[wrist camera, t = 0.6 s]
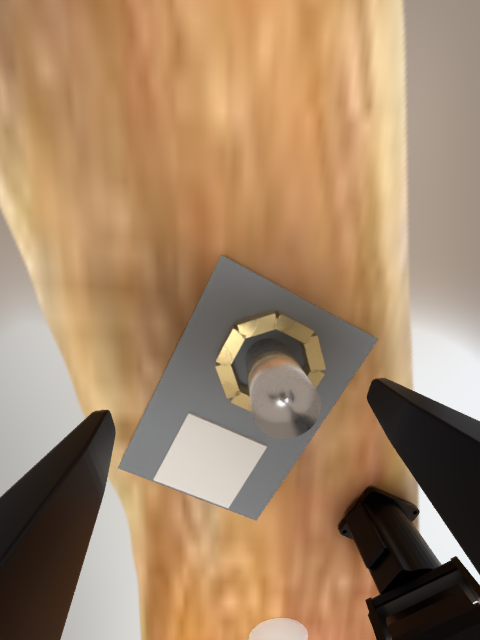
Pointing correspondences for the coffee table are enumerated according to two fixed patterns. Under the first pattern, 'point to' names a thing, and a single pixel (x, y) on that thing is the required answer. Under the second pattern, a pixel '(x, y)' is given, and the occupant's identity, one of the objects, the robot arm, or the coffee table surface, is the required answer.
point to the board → (241, 379)
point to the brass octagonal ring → (258, 326)
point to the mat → (209, 460)
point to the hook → (279, 630)
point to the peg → (280, 391)
